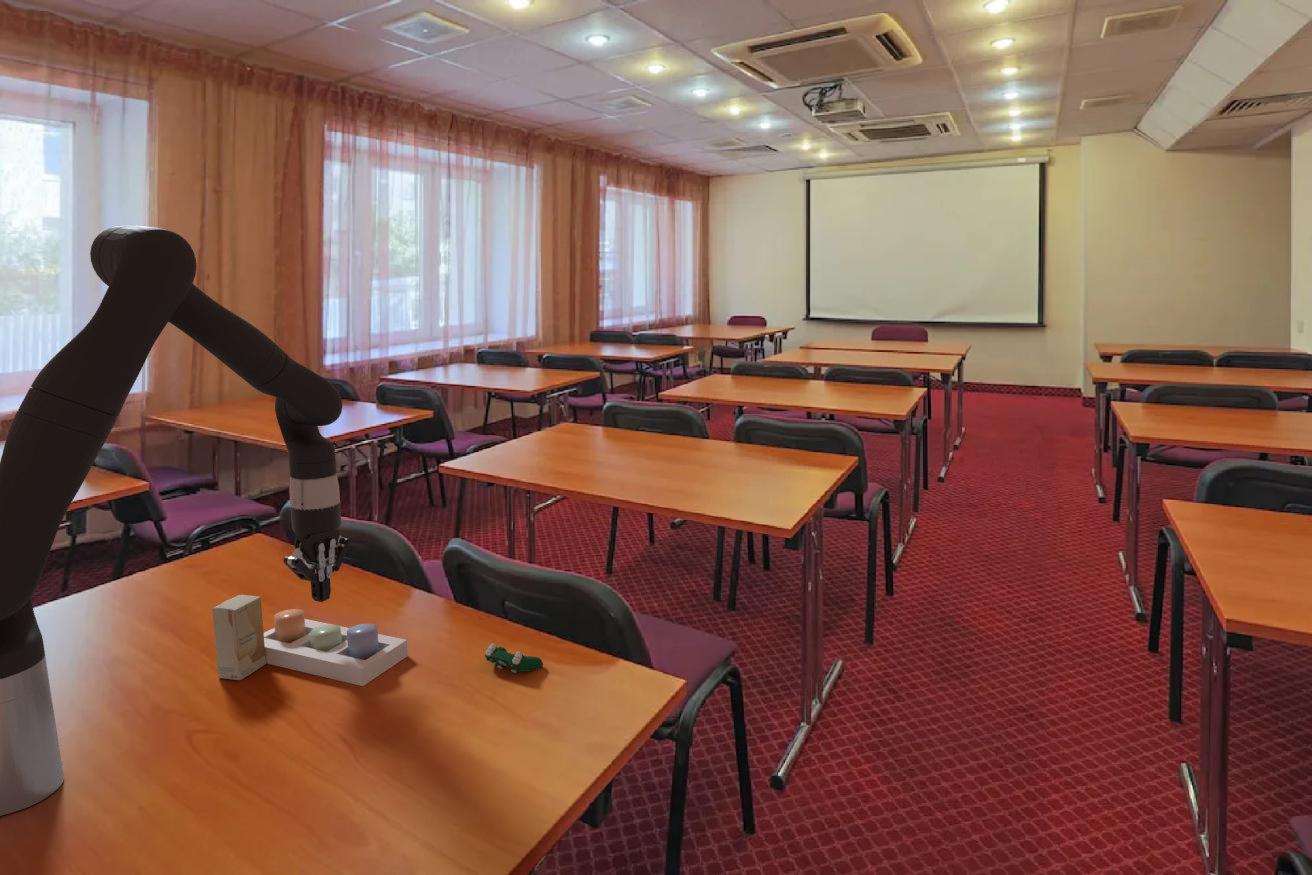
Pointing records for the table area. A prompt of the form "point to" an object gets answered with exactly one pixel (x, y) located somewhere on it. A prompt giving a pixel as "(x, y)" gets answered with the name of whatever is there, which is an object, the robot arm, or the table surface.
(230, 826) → the table surface
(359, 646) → the blue button
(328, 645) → the green button
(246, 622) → the skincare box
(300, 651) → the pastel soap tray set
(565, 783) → the table surface
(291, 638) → the terracotta button
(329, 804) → the table surface
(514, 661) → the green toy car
